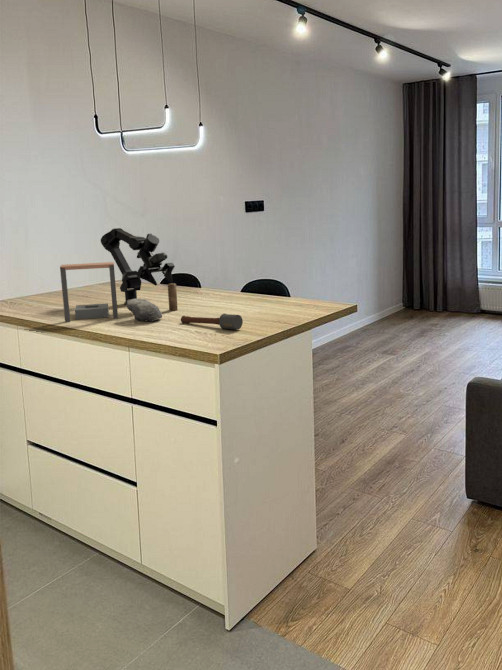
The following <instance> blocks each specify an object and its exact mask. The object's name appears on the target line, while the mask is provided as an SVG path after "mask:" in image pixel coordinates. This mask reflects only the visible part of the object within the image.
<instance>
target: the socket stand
mask: <svg viewBox="0 0 502 670" xmlns="http://www.w3.org/2000/svg"><path fill="white" fill-rule="evenodd" d="M59 269H60V283H61V291H62V302H63V303H62V304H63V312H64V322H65V323H71V313H70V303H69V294H68V293H69V292H68V282H67V281H68V279H67V271H71V270H72V271H74V270H75V271H76V270H90V269H91V270H92V269H93V270H94V269H109V278H110V279H109V281H110V295H111V305H112V306H111V307H112V318H113V320H114V319H116V320H117V319H119V313H118V312H119V311H118V301H117V286H116V277H115V276H116V275H115V274H116V273H115V261H112V262H111V261H109V262H108V261H107V262H88V263H86V262H85V263H72V264H71V263H69V264H68V263H67V264H66V263H65V264H61V265H60V266H59ZM109 311H110V309H109V303H93V304H90V303H89V304H79V305H75V309H74V315H75V316H74V317H75V320H85V319H87V320H88V319H101V318H109V313H110V312H109Z"/></svg>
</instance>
